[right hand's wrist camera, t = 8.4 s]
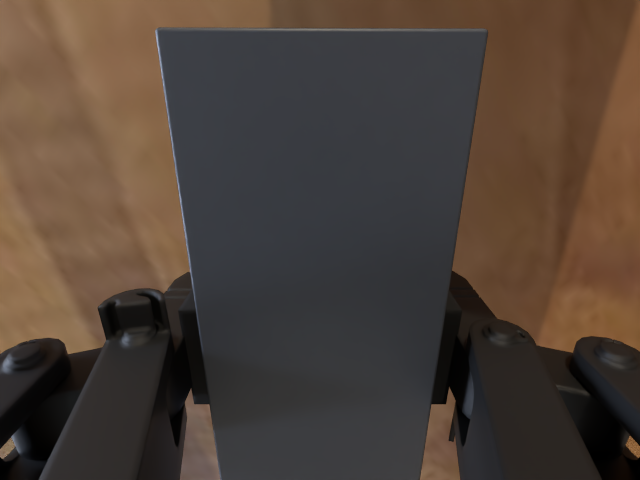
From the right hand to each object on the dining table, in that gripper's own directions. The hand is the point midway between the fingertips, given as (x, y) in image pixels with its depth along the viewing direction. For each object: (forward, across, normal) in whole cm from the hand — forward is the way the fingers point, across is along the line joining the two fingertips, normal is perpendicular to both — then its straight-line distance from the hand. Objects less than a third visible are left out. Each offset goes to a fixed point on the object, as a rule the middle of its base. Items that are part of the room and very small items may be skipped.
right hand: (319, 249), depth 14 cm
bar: (0, 0, -28) cm, 28 cm away
